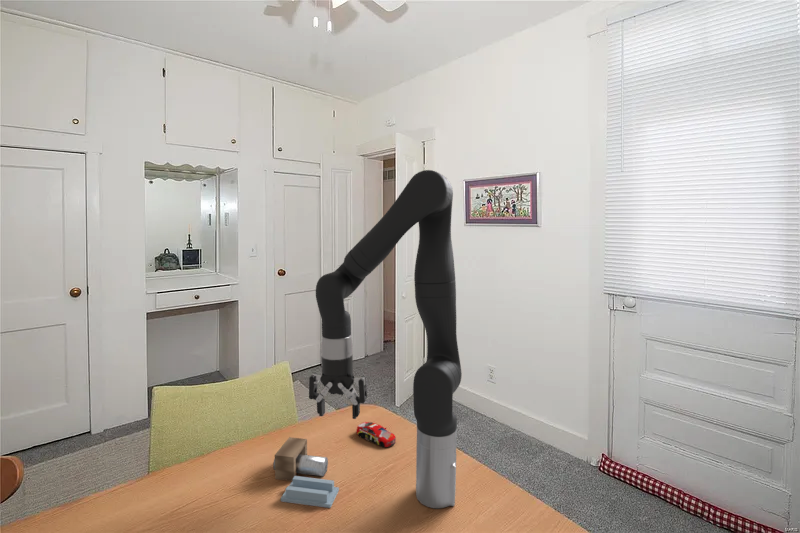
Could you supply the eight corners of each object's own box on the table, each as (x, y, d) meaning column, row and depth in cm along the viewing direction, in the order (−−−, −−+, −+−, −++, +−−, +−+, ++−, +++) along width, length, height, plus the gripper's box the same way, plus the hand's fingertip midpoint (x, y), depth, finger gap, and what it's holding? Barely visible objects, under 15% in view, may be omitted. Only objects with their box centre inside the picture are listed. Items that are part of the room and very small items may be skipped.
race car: (399, 443, 120) (399, 430, 119) (387, 451, 116) (387, 438, 115) (366, 428, 128) (366, 416, 128) (353, 435, 124) (353, 423, 123)
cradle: (338, 490, 99) (338, 479, 98) (330, 507, 93) (330, 496, 93) (291, 484, 101) (291, 474, 100) (280, 501, 95) (280, 490, 95)
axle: (328, 469, 107) (327, 453, 107) (322, 480, 103) (321, 463, 102) (281, 463, 109) (280, 448, 109) (273, 474, 105) (273, 458, 105)
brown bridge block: (307, 461, 110) (306, 439, 109) (294, 481, 102) (293, 457, 101) (289, 459, 111) (289, 437, 110) (275, 479, 103) (274, 455, 102)
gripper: (369, 349, 103) (370, 411, 105) (315, 346, 105) (316, 407, 107) (361, 360, 95) (362, 426, 97) (303, 356, 98) (305, 421, 100)
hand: (338, 416), depth 102 cm, fingers open, 8 cm apart
